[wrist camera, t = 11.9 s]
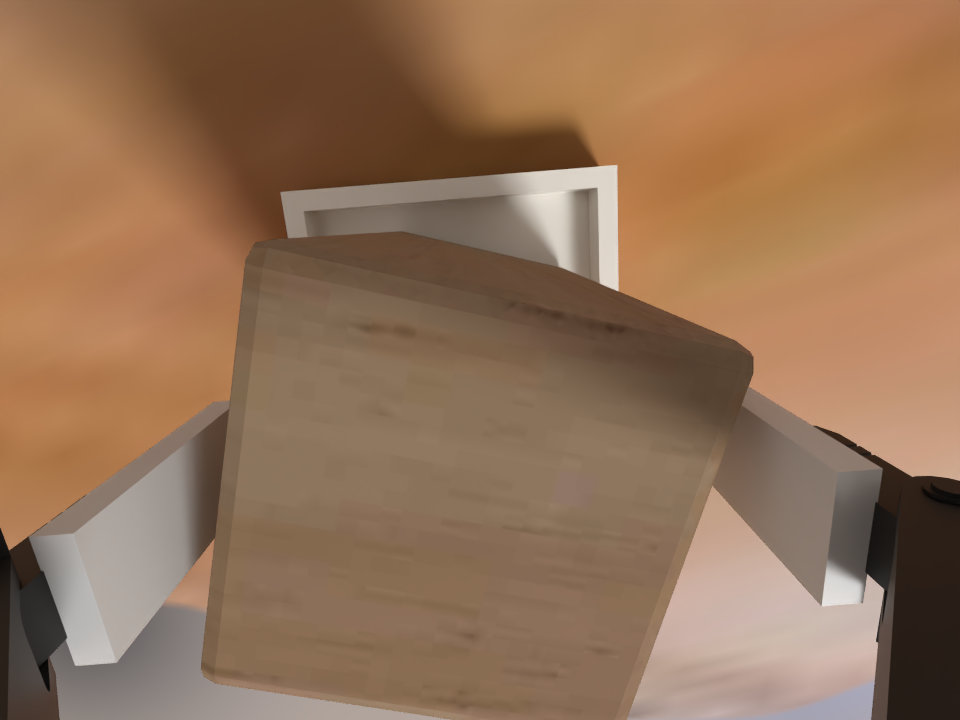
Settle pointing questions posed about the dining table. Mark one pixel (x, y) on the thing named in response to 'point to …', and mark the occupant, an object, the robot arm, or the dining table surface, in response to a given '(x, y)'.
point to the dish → (482, 215)
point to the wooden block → (456, 479)
